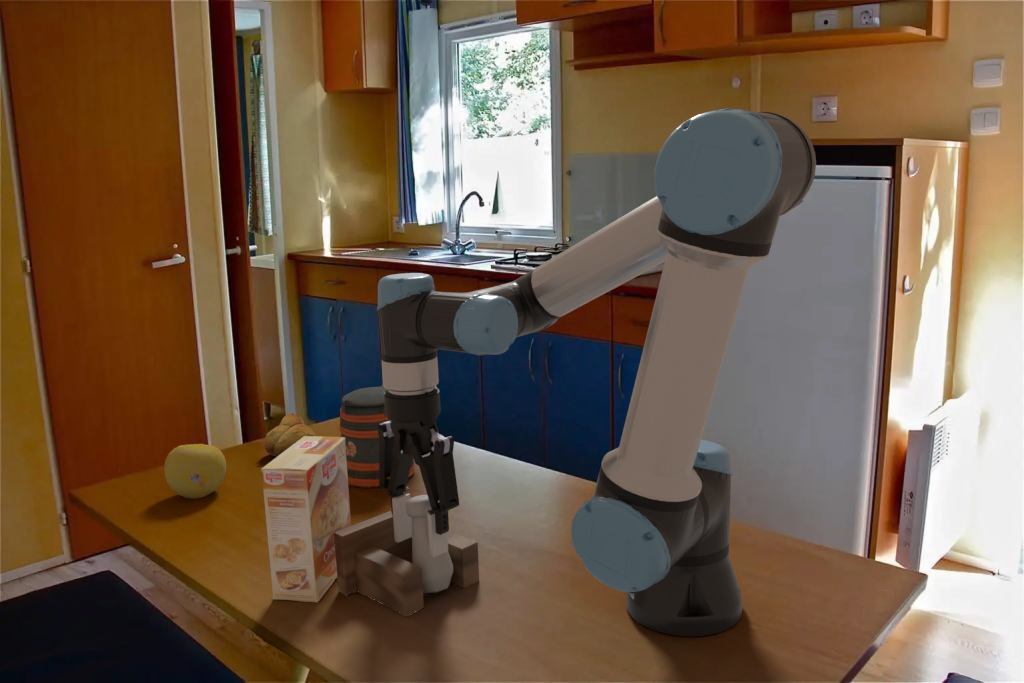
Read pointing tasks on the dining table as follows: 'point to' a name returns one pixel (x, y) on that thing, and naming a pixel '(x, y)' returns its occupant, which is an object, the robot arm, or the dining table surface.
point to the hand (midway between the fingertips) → (421, 545)
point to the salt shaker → (427, 548)
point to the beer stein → (363, 435)
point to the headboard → (394, 564)
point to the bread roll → (286, 434)
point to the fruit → (195, 470)
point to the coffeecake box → (305, 516)
